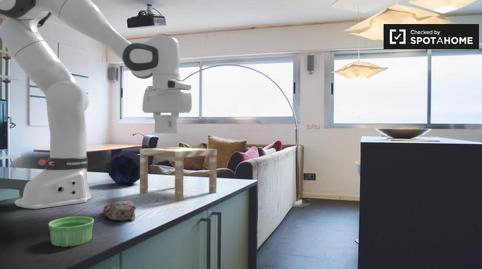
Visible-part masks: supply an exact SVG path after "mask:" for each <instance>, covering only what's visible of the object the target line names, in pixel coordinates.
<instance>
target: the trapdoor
mask: <svg viewBox="0 0 482 269" xmlns="http://www.w3.org/2000/svg"><path fill="white" fill-rule="evenodd" d="M161 148H162V149H153V150H167V151H193V150H206V149H207V148H204V149H194V148H195V147H189V148H168V147H161Z"/></svg>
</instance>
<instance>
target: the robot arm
mask: <svg viewBox="0 0 482 269" xmlns="http://www.w3.org/2000/svg"><path fill="white" fill-rule="evenodd" d="M0 14H1V15H2V16H4V17H6V19H5V20H4V21H2V22H1V23H0V39H1V41H2V43H3V45H4V46H5V48H6V49H7V51H8V52H9V54H10V55H11V56H12V58H13V59H14V61H15V62H16V63H17V64H18V66H19V67H20V68H21V69H22V70H23V72H24V73H25V75H26V76H27V77H28V78H29V79H30V80H31V82H32V83H34V85H35V86H36V87H37V88H38V89H39V90H40V91H41V92H42V93H43V95H44V96H45V103H46V112H47V113H46V115H47V119H48V127H49V157H48V158H47V159H43V158H41V159H39V160H38V161H37V164H38V165H39V166H44V169H43V170H42V171H41V172H40V173H38V174H37V175H35V176H34V177H33V178H31V179H30V180H29V181H28V182H26V184H25V186H24V188H23V194H22V198H19V199H16V200H14V205H15V206H17V207H19V208H25V209H33V210H34V209H35V210H36V209H38V210H39V209H43V208H46V209H47V208H52V207H61V206H65V205H66V206H68V205H73V204H75V205H76V204H81V203H87V202H88V200H90V199H92V194H91V190H90V187H89V181H88V169H89V166H88V165H89V163H88V162H89V161H88V160H89V159H88V158H89V157H88V156H87V128H86V119H85V118H86V117H85V116H86V115H85V111H86V110H87V109H88V107H89V101H90V100H89V96H88V93H87V92H86V91H85V90H84V88H83V87H82V85H81V84H80V83H79V82H78V80H77V79H76V78H75V77H74V76H73V74H72V73H71V72H70V71H69V69H68V68H67V67H66V66H65V65H64V63H63V62H62V61H61V59H60V58H59V57H58V56H57V54H56V53H55V51H54V50H53V49H52V48H51V46H50V45H49V44H48V42H47V41H46V40H45V38H44V37H43V36H42V34H41V33H40V32H39V30H38V28H41V27H42V26H44V24H45V22H46V21H47V20H48V19H49V18H50V17H52V15H53V16H55V17H56V18H57V19H59V21H61V22H62V23H63V24H65V25H67V26H68V27H70V28H71V29H73V30H75V31H76V32H79V33H81V34H82V35H85V36H87V37H89V38H91V39H92V40H95V41H97V42H98V43H99V44H102V45H103V46H105V47H106V48H107V49H108V50H110V51H111V52H112V53H113V54H115V55H116V56H118V57H119V58H120V59H121V60H122V62H123V64H124V66H125V67H126V69H128V71H130V72H131V74H132V75H133V76H134V77H136V78H138V79H141V80H143V79H144V80H146V79H150V78H152V86H151V85H148V86H147V87H146V89H145V90H144V93H143V96H142V97H143V98H142V104H141V105H142V106H141V107H142V111H143V113H146V114H152V116H153V119H154V120H155V115H162V113H163V114H170V115H171V116H172V119H171V121H169V127H176V121H178V119H179V117H180V116H179V115H180V114H181V113H182V114H184V113H185V114H186V113H187V114H189V113H190V112H191V111H192V105H193V103H192V101H193V100H192V99H193V98H192V92H191V90H192V84H191V83H190V82H187V81H184V80H181V75H180V70H179V69H180V66H181V65H180V64H181V50H180V43H179V42H178V40H177V39H176V38H175V37H173V36H172V35H169V34H165V33H164V34H163V33H158V34H157V33H156V34H155V35H154V36H152V37H151V38H149V39H146V40H143V41H140V42H132V43H131V42H130V41H129V40H128V39H126V37H124V36H123V35H121V34H120V33H119V32H118V31H116V30H115V29H114V27H113V26H112V25H111V24H110V23H109V21H108V20H107V18H106V17H105V15H104V14H103V12H102V11H101V10H100V8H99V7H98V6H97V5H96V4H95V3H94V2H93V1H92V0H0Z"/></svg>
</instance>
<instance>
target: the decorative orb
mask: <svg viewBox="0 0 482 269" xmlns="http://www.w3.org/2000/svg"><path fill="white" fill-rule="evenodd" d="M107 171H108V176H109V177H110V179H111V180H112V181H113V182H114V183H115V184H117V185H121V186H128V185H133V184H135V183H136V182H138V181H140V154H138V153H136V152H132V151H130V150H123V151H122V150H121V151H119V152H117V153H116V154H115V155H112V156H111V158H110V160H109V162H108V164H107Z"/></svg>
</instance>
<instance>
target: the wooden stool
mask: <svg viewBox="0 0 482 269" xmlns="http://www.w3.org/2000/svg"><path fill="white" fill-rule="evenodd" d="M162 148H163V147H153V148H140V149H139V157H140V179H139V194H140V195H147V194H148V193H149V190H148V188H149V186H148V185H149V156H151V157H152V156H153V157H163V158H164V157H166V158H174V201H177V202H181V201H183V200H184V168H185V167H184V166H185V165H184V163H185V161H184V160H185V159H184V158H195V157H196V158H197V157H203V156H204V157H205V156H209V158H208V159H209V161H208V162H209V163H208V164H209V165H208V166H209V168H208V169H209V170H208V173H209V174H208V193H210V194H215V193H217V182H218V181H217V178H218V177H217V176H218V174H217V172H218V169H217V167H218V165H217V164H218V150H217V148H216V149H215V148H205V147H204V148H200V147H193V148H194V149H206V150H193V151H167V150H153V149H162ZM167 148H190V147H188V146H186V147H185V146H170V147H167Z"/></svg>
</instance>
